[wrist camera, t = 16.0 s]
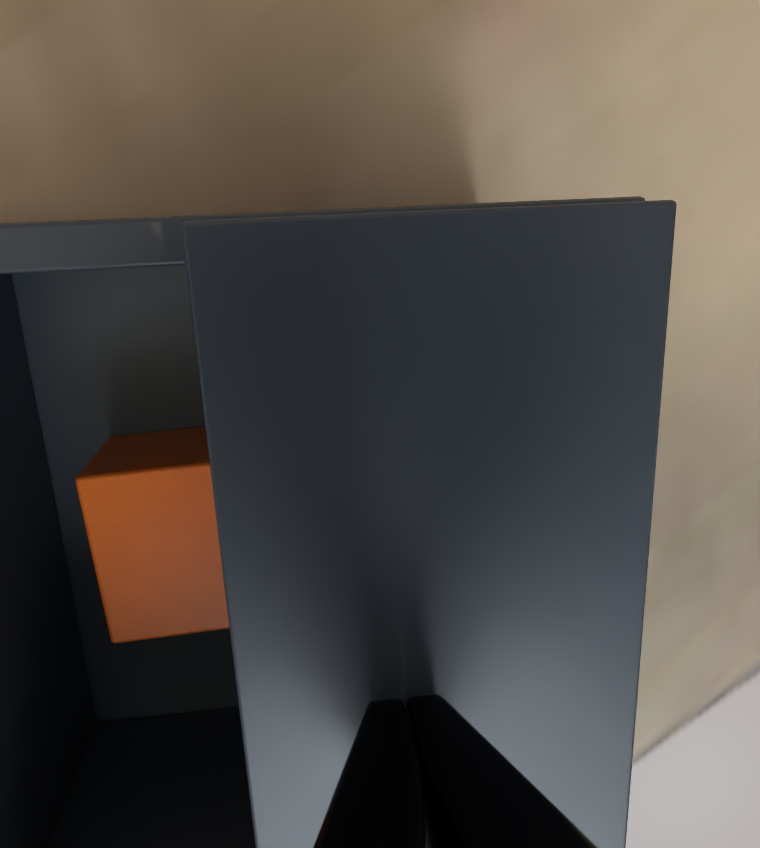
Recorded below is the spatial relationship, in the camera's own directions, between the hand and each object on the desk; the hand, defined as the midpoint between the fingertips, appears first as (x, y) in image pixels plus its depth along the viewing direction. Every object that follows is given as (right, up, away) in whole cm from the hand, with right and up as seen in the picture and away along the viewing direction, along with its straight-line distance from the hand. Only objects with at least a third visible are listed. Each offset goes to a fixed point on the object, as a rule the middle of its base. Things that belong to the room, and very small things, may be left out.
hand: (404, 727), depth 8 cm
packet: (-3, +1, +5) cm, 6 cm away
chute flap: (0, 0, 0) cm, 1 cm away
